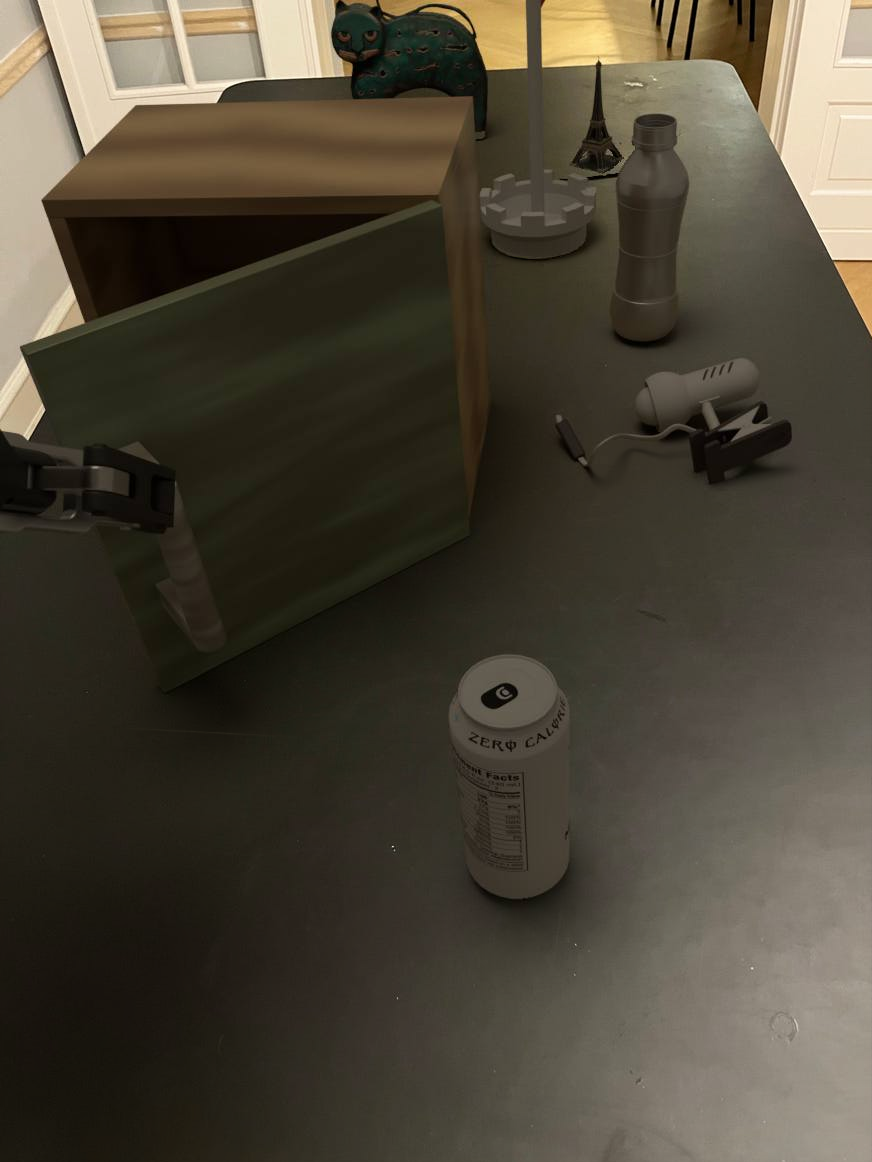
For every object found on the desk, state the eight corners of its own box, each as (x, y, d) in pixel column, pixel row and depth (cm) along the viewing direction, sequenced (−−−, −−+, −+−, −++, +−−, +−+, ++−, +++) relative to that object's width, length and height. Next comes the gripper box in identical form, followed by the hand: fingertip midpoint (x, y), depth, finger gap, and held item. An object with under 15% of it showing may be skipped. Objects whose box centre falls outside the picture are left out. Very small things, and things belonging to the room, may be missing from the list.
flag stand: (563, 272, 114) (562, -50, 93) (461, 252, 119) (438, -58, 98) (613, 225, 122) (623, -82, 100) (515, 208, 127) (505, -88, 106)
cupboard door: (517, 573, 79) (502, 235, 60) (202, 745, 68) (68, 401, 50) (461, 528, 83) (431, 199, 65) (157, 684, 73) (18, 345, 54)
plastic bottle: (622, 313, 107) (630, 104, 92) (685, 324, 104) (704, 111, 90) (599, 343, 103) (604, 129, 88) (664, 355, 100) (680, 138, 86)
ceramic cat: (346, 153, 143) (322, -15, 129) (350, 136, 148) (327, -28, 134) (491, 143, 142) (482, -26, 128) (490, 127, 147) (482, -39, 133)
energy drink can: (591, 870, 60) (595, 697, 50) (507, 927, 58) (493, 758, 47) (528, 803, 64) (519, 628, 53) (447, 854, 62) (421, 682, 51)
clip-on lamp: (584, 527, 87) (797, 464, 85) (569, 473, 82) (794, 405, 80) (558, 438, 94) (753, 378, 92) (543, 383, 90) (748, 319, 87)
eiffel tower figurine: (642, 144, 139) (648, 32, 130) (664, 172, 132) (671, 56, 122) (532, 157, 138) (530, 45, 129) (548, 186, 131) (547, 70, 121)
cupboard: (467, 526, 83) (438, 194, 65) (153, 518, 87) (40, 199, 68) (491, 403, 96) (472, 96, 77) (216, 400, 99) (135, 104, 81)
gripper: (32, 331, 33) (221, 433, 49) (-369, 331, 35) (-60, 430, 51) (24, 567, 33) (215, 592, 49) (-377, 556, 35) (-65, 583, 51)
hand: (75, 509), depth 50 cm, fingers open, 8 cm apart
